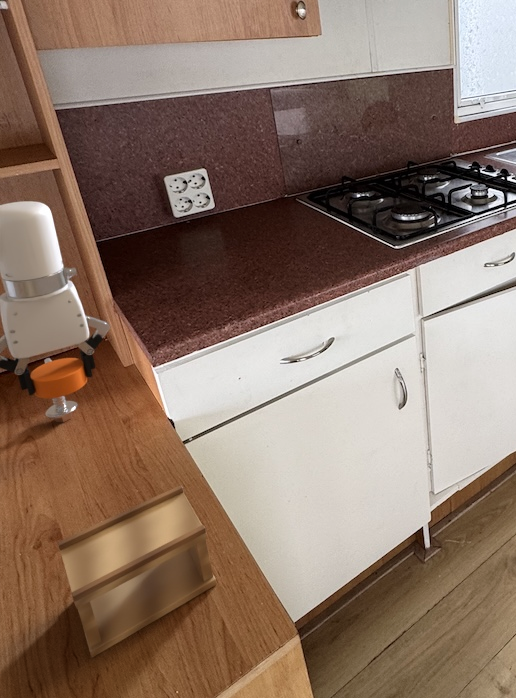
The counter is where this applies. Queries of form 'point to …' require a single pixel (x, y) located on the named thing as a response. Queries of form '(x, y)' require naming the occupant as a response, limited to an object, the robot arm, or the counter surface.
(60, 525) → the counter surface
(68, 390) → the puck
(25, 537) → the counter surface
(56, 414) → the screw
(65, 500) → the counter surface
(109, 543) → the gold metallic block
